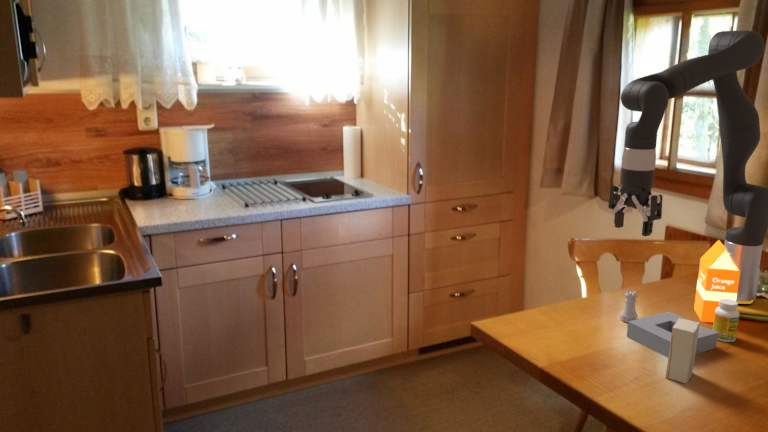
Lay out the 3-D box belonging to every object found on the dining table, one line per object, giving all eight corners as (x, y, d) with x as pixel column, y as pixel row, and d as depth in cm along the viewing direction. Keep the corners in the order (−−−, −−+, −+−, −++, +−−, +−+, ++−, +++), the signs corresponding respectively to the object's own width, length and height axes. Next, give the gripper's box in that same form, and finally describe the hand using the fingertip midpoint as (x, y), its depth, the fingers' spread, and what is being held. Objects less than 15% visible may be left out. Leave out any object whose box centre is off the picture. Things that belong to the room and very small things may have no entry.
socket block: (666, 325, 162) (668, 311, 161) (715, 348, 150) (717, 332, 149) (626, 336, 156) (628, 321, 155) (674, 360, 144) (676, 344, 143)
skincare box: (672, 367, 141) (678, 316, 138) (693, 373, 139) (700, 321, 136) (665, 378, 136) (671, 326, 133) (687, 384, 134) (694, 332, 131)
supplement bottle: (718, 331, 159) (724, 295, 157) (740, 339, 155) (745, 302, 152) (706, 336, 156) (711, 300, 154) (728, 344, 152) (733, 307, 150)
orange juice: (724, 311, 171) (734, 240, 166) (733, 324, 163) (744, 250, 158) (693, 308, 173) (702, 238, 168) (700, 321, 165) (710, 248, 160)
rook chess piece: (634, 325, 163) (637, 296, 161) (617, 320, 165) (619, 292, 163) (639, 319, 166) (642, 291, 164) (622, 315, 169) (625, 287, 167)
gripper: (674, 169, 147) (666, 236, 151) (626, 160, 159) (621, 222, 163) (650, 172, 143) (644, 241, 148) (604, 163, 156) (599, 226, 160)
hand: (632, 231), depth 155 cm, fingers open, 8 cm apart
